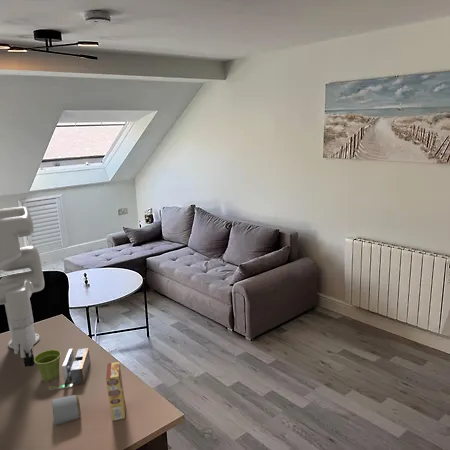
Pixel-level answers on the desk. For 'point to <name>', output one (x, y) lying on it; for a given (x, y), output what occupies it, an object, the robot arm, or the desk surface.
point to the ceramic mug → (66, 409)
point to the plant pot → (48, 364)
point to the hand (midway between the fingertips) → (29, 365)
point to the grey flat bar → (68, 366)
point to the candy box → (115, 391)
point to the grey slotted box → (77, 369)
